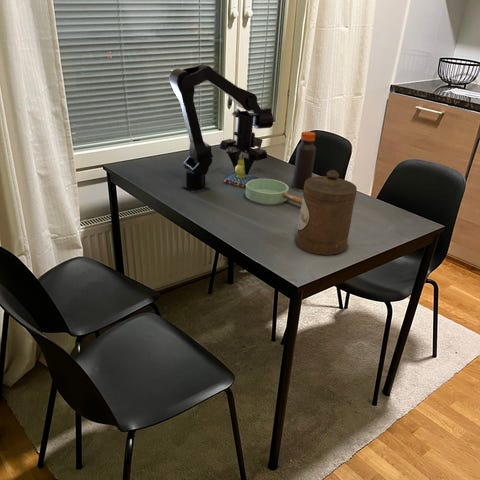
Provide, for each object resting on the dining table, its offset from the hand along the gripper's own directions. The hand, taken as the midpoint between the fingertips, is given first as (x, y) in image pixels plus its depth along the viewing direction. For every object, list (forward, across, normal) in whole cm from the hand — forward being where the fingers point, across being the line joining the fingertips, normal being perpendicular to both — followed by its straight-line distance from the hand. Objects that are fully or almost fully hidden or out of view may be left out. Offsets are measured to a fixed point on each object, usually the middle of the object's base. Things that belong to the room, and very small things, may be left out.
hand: (241, 172), depth 184 cm
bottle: (+4, -18, -14) cm, 23 cm away
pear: (+1, 0, 0) cm, 1 cm away
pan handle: (+2, -29, +4) cm, 30 cm away
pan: (+4, -16, +4) cm, 17 cm away
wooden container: (+4, -51, +20) cm, 55 cm away
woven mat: (+4, 0, 0) cm, 4 cm away
